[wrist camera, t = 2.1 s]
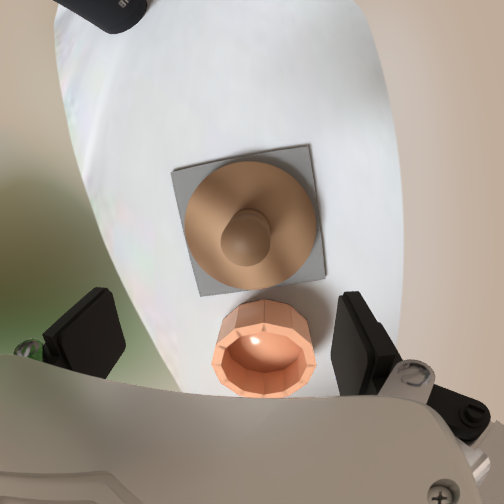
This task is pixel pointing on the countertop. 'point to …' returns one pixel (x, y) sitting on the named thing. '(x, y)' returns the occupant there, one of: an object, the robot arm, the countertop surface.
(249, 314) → the bowl
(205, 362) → the countertop surface
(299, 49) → the countertop surface
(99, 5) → the wine bottle
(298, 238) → the lid
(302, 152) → the mat
